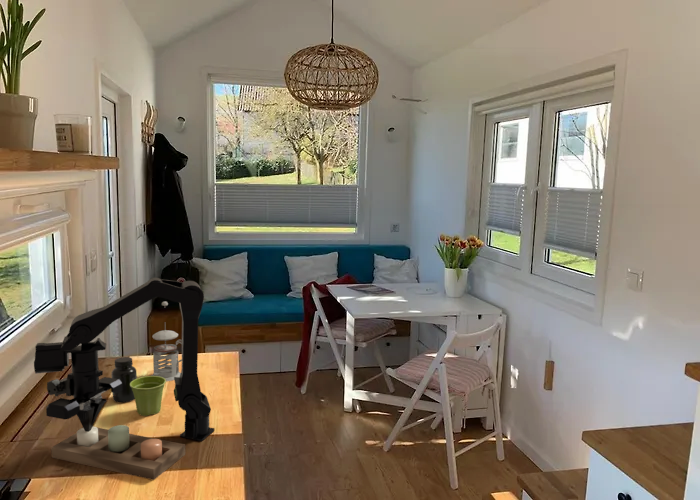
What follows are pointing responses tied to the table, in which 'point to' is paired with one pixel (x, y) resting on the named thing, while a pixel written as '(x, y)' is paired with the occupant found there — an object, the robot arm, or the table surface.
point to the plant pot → (148, 394)
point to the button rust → (151, 449)
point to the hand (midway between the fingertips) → (87, 430)
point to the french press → (162, 349)
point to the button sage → (118, 438)
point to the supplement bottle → (124, 379)
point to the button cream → (87, 437)
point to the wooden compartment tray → (119, 455)
